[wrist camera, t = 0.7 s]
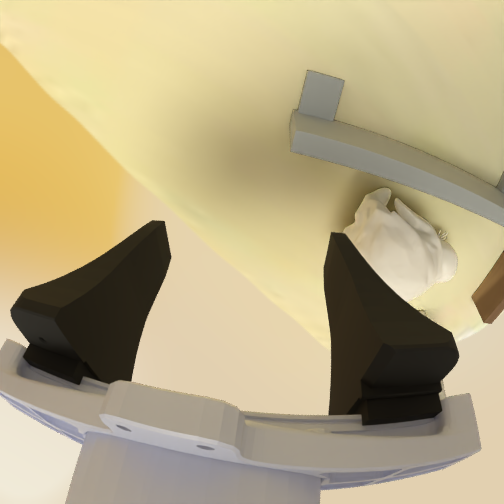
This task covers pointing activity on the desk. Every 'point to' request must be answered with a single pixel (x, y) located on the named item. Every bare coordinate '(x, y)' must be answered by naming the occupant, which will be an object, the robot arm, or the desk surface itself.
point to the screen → (383, 152)
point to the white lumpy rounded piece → (401, 246)
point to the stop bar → (491, 293)
